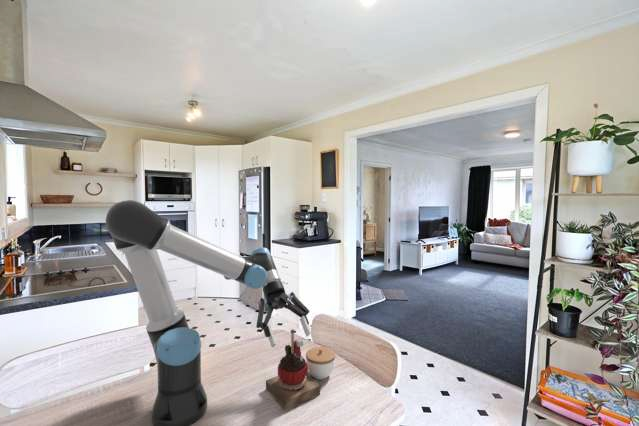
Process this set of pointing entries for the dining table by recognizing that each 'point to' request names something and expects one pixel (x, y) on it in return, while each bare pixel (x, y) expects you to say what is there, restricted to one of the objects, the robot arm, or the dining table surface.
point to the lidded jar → (320, 362)
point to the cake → (292, 366)
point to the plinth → (292, 392)
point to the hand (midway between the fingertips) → (292, 340)
